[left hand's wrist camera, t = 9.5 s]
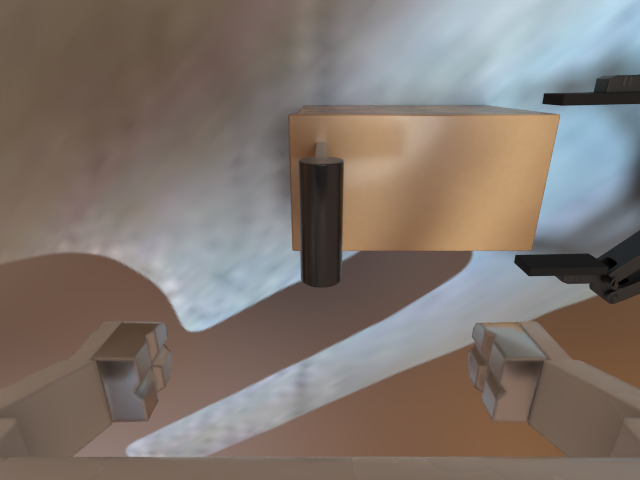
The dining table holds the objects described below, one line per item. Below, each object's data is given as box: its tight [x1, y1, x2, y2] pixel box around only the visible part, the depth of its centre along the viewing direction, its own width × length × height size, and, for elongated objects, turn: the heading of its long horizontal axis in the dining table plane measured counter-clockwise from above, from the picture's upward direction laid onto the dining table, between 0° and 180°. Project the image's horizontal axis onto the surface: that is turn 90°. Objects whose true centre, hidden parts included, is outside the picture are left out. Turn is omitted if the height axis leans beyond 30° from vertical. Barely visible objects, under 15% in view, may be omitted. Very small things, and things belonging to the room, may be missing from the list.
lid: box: [289, 113, 560, 287], centre depth 23 cm, size 17×9×10 cm, turn 90°
